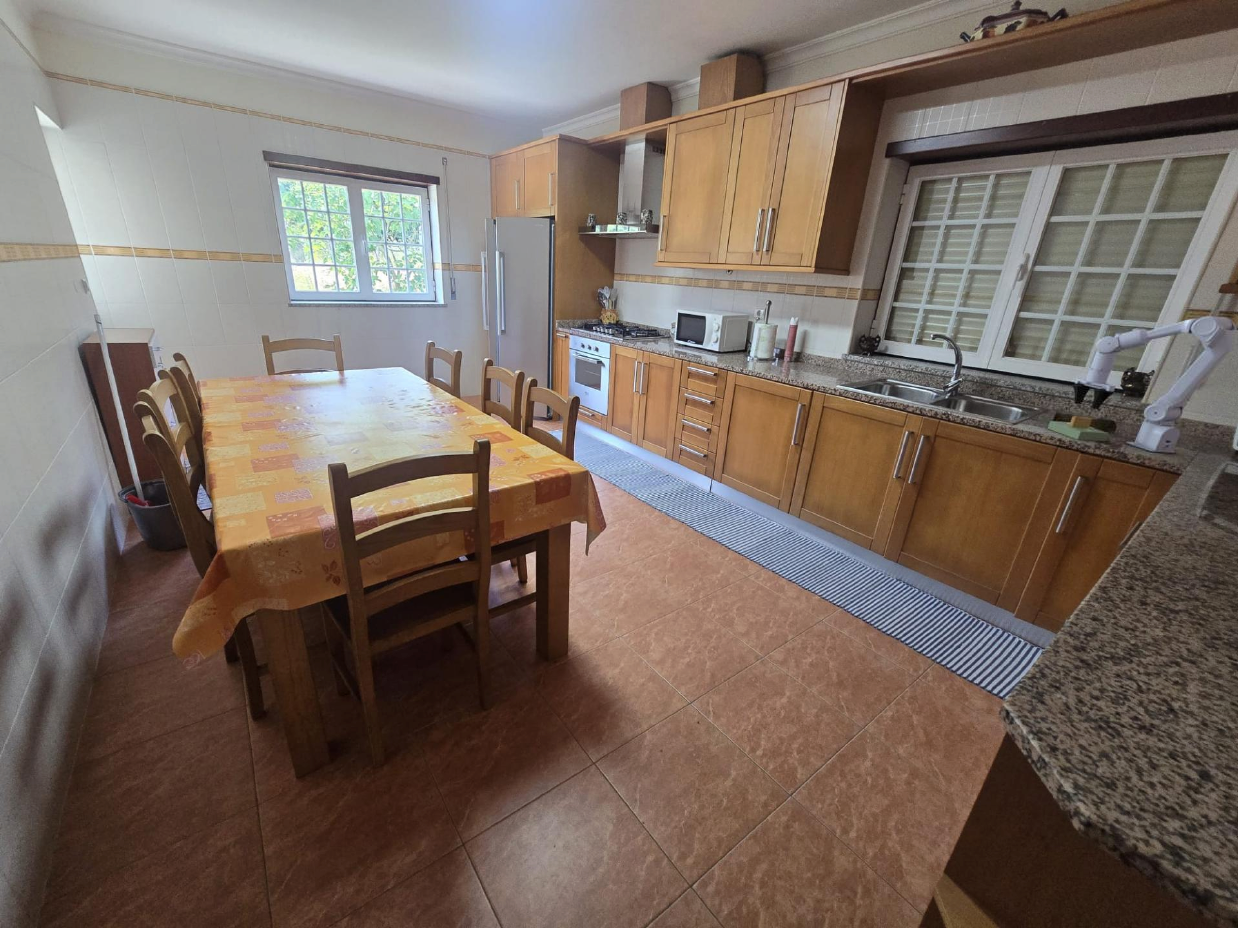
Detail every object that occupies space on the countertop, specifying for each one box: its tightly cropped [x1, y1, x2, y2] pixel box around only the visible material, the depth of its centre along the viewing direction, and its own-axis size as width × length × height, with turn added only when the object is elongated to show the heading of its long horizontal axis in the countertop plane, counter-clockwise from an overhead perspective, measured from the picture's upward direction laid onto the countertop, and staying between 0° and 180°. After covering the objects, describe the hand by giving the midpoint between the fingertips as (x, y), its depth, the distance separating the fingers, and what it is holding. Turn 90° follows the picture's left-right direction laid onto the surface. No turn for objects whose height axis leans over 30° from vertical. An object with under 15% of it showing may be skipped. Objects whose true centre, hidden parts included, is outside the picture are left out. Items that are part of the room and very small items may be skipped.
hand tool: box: [1052, 411, 1118, 433], centre depth 198 cm, size 19×4×5 cm, turn 37°
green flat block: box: [1047, 420, 1110, 442], centre depth 185 cm, size 14×10×3 cm
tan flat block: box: [1069, 415, 1093, 428], centre depth 184 cm, size 6×1×4 cm, turn 88°
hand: (1085, 406), depth 189 cm, fingers open, 7 cm apart
